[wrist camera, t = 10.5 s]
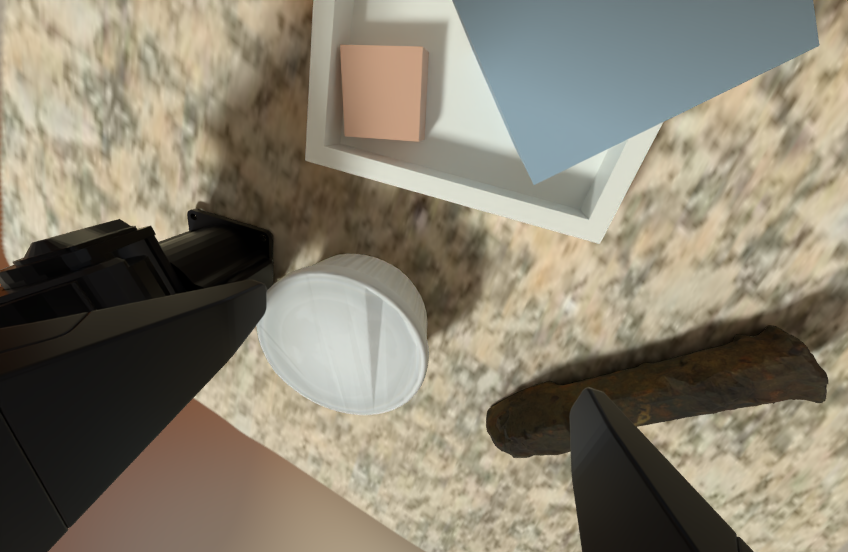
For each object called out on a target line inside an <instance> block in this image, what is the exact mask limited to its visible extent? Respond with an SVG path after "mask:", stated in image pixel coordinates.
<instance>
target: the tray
mask: <svg viewBox="0 0 848 552" xmlns="http://www.w3.org/2000/svg"><path fill="white" fill-rule="evenodd" d="M340 45H378V46H419V47H424V48H425V49H426V50H427V51H428V52H429V64H428V84H427V105H426V125H425V140H423V141H419V142H416V141H402V140H388V139H375V138H361V137H347V136H345V132H344V112H343V93H342V73H341V54H340ZM662 123H663V122H662ZM662 123H660V124H658V125H656V126H654V127H652V128H650V129H648V130H646V131H644V132H642V133H640V134H638V135H636V136H633V137H631V138H629V139H627V140H625V141H623V142H621V143H619V144H617V145H615V146H613V147H611V148H609V149H607V150H605V151H603V152H601V153H599V154H597V155H595V156H593V157H591V158H589V159H586V160H584V161H582V162H580V163H578V164H576V165H574V166H572V167H570V168H568V169H566V170H564V171H562V172H560V173H558V174H556V175H554V176H552V177H550V178H548V179H546V180H544V181H541V182H539V183H537V184H535V185H534V184H533V182H532V180H531V178H530V176H529V174H528V172H527V170H526V168H525V166H524V164H523V162H522V161H521V159H520V157H519V155H518V153H517V151H516V149H515V147H514V144H513V142H512V140H511V137H510V135H509V133H508V131H507V128H506V126H505V124H504V121H503V119H502V117H501V115H500V112H499V110H498V108H497V105H496V103H495V101H494V99H493V96H492V94H491V92H490V89H489V87H488V85H487V83H486V80H485V78H484V76H483V73H482V71H481V69H480V67H479V64H478V62H477V60H476V57H475V55H474V53H473V51H472V48H471V46H470V43H469V41H468V38H467V36H466V33H465V31H464V28H463V26H462V24H461V21H460V19H459V16H458V14H457V11H456V9H455V6H454V4H453V1H452V0H313V16H312V36H311V56H310V75H309V95H308V114H307V134H306V154H305V161H308V162H311V163H315V164H318V165H322V166H325V167H329V168H333V169H336V170H340V171H343V172H347V173H350V174H354V175H357V176H361V177H364V178H368V179H372V180H375V181H379V182H382V183H386V184H389V185H393V186H396V187H400V188H403V189H407V190H410V191H414V192H418V193H421V194H425V195H428V196H432V197H435V198H439V199H442V200H446V201H449V202H453V203H456V204H460V205H464V206H467V207H471V208H474V209H478V210H481V211H485V212H488V213H492V214H495V215H499V216H503V217H506V218H510V219H513V220H517V221H520V222H524V223H527V224H531V225H534V226H538V227H541V228H545V229H549V230H552V231H556V232H559V233H563V234H566V235H570V236H573V237H577V238H580V239H584V240H587V241H591V242H595V243H598V244H600V242H601V240H602V239H603V237H604V235H605V233H606V231H607V229H608V227H609V225H610V223H611V221H612V219H613V217H614V216H615V214H616V212H617V210H618V208H619V206H620V204H621V202H622V200H623V198H624V196H625V194H626V192H627V191H628V189H629V187H630V185H631V183H632V181H633V179H634V177H635V175H636V173H637V171H638V169H639V167H640V166H641V164H642V162H643V160H644V158H645V156H646V154H647V152H648V150H649V148H650V146H651V144H652V143H653V141H654V139H655V137H656V135H657V133H658V131H659V129H660V127H661V125H662Z"/></svg>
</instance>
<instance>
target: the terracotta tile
mask: <svg viewBox="0 0 848 552" xmlns="http://www.w3.org/2000/svg"><path fill="white" fill-rule="evenodd" d="M340 54H341V73H342V93H343V112H344V132H345V136H347V137H361V138H375V139H388V140H402V141H416V142H419V141H423V140H425V125H426V105H427V84H428V64H429V52H428V51H427V50H426V49H425V48H424V47H419V46H378V45H340Z"/></svg>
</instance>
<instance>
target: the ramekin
mask: <svg viewBox="0 0 848 552" xmlns="http://www.w3.org/2000/svg"><path fill="white" fill-rule="evenodd" d="M257 333H258V338H259V342H260V345H261V347H262V350H263V352H264V354H265V357H266V359H267V360H268V362H269V364H270V365H271V366H272V368H273V370H274V371H275V372H276V373H277V374H278V376H279V377H280V378H281V379H282V380H283V381H285V382H286V383H287V384H288V385H289V386H291V387H292V388H293V389H294V390H295V391H297V392H298V393H300V394H301V395H302V396H304V397H306V398H307V399H309V400H311V401H313V402H315V403H317V404H319V405H321V406H323V407H326V408H329V409H332V410H335V411H339V412H343V413H348V414H356V415H374V414H380V413H385V412H388V411H391V410H394V409H396V408H398V407H400V406H402V405H404V404H405V403H406V402H408V401H409V400H410V399H411V398H412V397H413V396H414V395H415V394H416V393H417V391H418V390H419V388H420V387H421V385H422V383H423V381H424V378H425V375H426V372H427V367H428V360H429V347H428V342H427V312H426V309H425V305H424V302H423V300H422V297H421V295H420V294H419V292H418V290H417V288H416V287H415V286H414V285H413V283H412V282H411V280H410V279H409V278H408V277H407V276H406V275H405V274H404V273H402V272H401V271H400V270H399V269H398V268H396V267H394V266H393V265H392V264H389V263H387V262H385V261H383V260H381V259H378V258H376V257H371V256H368V255H360V254H343V255H342V254H340V255H335V256H333V257H330V258H327V259H325V260H323V261H320V262H318V263H316V264H314V265H312V266H308V267H304V268H301V269H298V270H295V271H293V272H291V273H289V274H287V275H285V276H284V277H282V278H281V279H279V280H278V281H277V282H276V283H275V284H273V285H272V286H271V287H270V288H269V289H268V291H267V308H266V312H265V314H264V316H263V317H262V319H261V320H260V321H259V322H258V324H257Z"/></svg>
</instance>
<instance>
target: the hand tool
mask: <svg viewBox="0 0 848 552" xmlns="http://www.w3.org/2000/svg"><path fill="white" fill-rule="evenodd" d="M827 384H828V377H827V374H826V372H825V371H824V370H823V369H822V368H821V367H820V366H819V364H818V363H817V361H816V359H815V358H814V355H813V354H811V353H810V351H809V349H808V347H807V346H806V345H805V344H804V343H803V342H801V341H800V340H799V339H798V338H796V337H794V336H792V335H789V334H788V333H786V332H784V331H783V330H781V329H780V328H778V327H776V326H771V325H769V326H768V327H766V329H765V330H764V331H763V332H762V333H760V334H759V335H757V336H755V337H751V336H748V335H739V334H737V335H736V336H735V338H734V340H733V342H731V343H729V344H726V345H723V346H719V347H714V348H710V349H706V350H701V351H698V352H694V353H691V354H688V355H684V356H680V357H676V358H672V359H668V360H664V361H660V362H656V363H642V364H641V365H640V366H638V367H636V368H631V369H627V370H621V371H617V372H614V373H611V374H607V375H603V376H599V377H595V378H591V379H587V380H583V381H579V382H575V383H571V384H567V385H557V384H556V383H554V382H550V381H548V382H544V383H541V384H538V385H535V386H532V387H529V388H527V389H524V390H522V391H520V392H518V393H516V394H514V395H512V396H510V397H508V398H506V399H504V400H503V401H501V402H499V403H497V404H496V405H494V406H492V407H491V408H489V409H488V411H487V417H486V428H487V432H488V433H489V435H490V436H491V438H492V441H493V443H494V444H495V446H496V447H497V448H498V449H500V450H501V451H504V452H506V453H508V454H510V455H512V456H513V458H527V457H531V456H533V455H559V454H563V453H567V452H570V451H571V445H570V411H571V408H572V406H573V405H574V403H575V402H576V400H577V399H578V397H579V396H580V394H581V392H582V391H583V390H584V389H585V388H587V387H590V388H593V389H596V390H599V391H602V392H604V393H605V394H606V395H607V396H608V397H609V398H610V399H611V401H612V402H613V403H614V404H615V405H616V406H617V407H618V408H619V409H620V410H621V411H622V412H623V413H624V414H625V415H626V416H627V418H628V419H629V420H630V421H631V422H632V423H633V424H634V425H635V426H636V427H637V426H643V425H649V424H654V423H659V422H665V421H670V420H675V419H681V418H685V417H692V416H698V415H705V414H712V413H713V414H714V413H717V412H721V411H725V410H734V409H738V408H743V407H751V406H758V405H762V404H769V403H773V404H774V403H775V402H780V401H784V400H788V399H793V400H795V399H797V400H808V401H813V402H815V403H822V402H823V401H825V399H826V393H827V390H826V386H827Z"/></svg>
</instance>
